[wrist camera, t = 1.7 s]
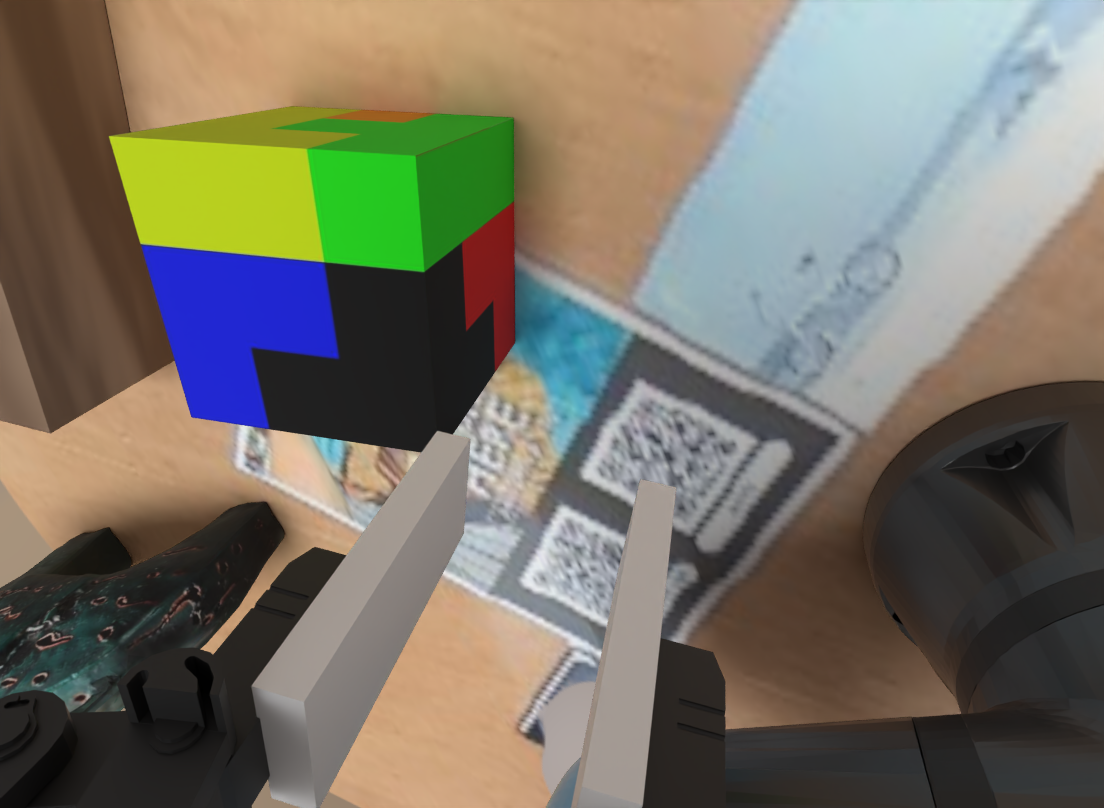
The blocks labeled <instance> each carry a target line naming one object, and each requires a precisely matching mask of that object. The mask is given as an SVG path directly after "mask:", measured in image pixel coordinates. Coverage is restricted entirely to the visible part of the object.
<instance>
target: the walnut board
mask: <svg viewBox="0 0 1104 808" xmlns="http://www.w3.org/2000/svg"><path fill="white" fill-rule="evenodd" d="M125 133H130V130H129V125H128V120H127V115H126V110H125V105H124V100H123V95H122V89H121V84H120V79H119V74H118V69H117V64H116V59H115V54H114V49H113V44H112V39H111V34H110V28H109V23H108V18H107V13H106V8H105V3H104V0H0V420H1V421H4V422H8V423H12V424H16V425H20V426H24V427H28V428H31V429H35V430H39V431H43V432H47V433H52V432H54V431H55V430H57V429H59V428H60V427H62V426H64V425H65V424H67V423H69V422H71V421H72V420H74V419H76V418H77V417H79V416H81V415H82V414H84V413H86V412H88V411H89V410H91V409H93V408H94V407H96V406H98V405H99V404H101V403H103V402H105V401H106V400H108V399H110V398H111V397H113V396H115V395H116V394H118V393H120V392H122V391H123V390H125V389H127V388H128V387H130V386H132V385H133V384H135V383H137V382H139V381H140V380H142V379H144V378H145V377H147V376H149V375H151V374H152V373H154V372H156V371H157V370H159V369H161V368H162V367H164V366H166V365H168V364H169V363H171V362H173V361H174V356H173V353H172V349H171V346H170V343H169V339H168V336H167V332H166V329H165V326H164V322H163V319H162V315H161V312H160V309H159V305H158V302H157V298H156V295H155V291H154V288H153V285H152V281H151V278H150V274H149V271H148V268H147V264H146V261H145V257H144V254H143V251H142V247H141V244H140V240H139V237H138V234H137V230H136V227H135V223H134V220H133V217H132V213H131V210H130V206H129V203H128V200H127V196H126V193H125V189H124V186H123V183H122V179H121V176H120V172H119V169H118V166H117V162H116V159H115V155H114V152H113V149H112V145H111V142H110V138H109V136H113V135H119V134H125Z"/></svg>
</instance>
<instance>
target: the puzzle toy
mask: <svg viewBox="0 0 1104 808" xmlns="http://www.w3.org/2000/svg"><path fill="white" fill-rule="evenodd" d="M109 138H110V142H111V145H112V149H113V152H114V155H115V159H116V162H117V166H118V169H119V172H120V176H121V179H122V183H123V186H124V189H125V193H126V196H127V200H128V203H129V206H130V210H131V213H132V217H133V220H134V223H135V227H136V230H137V234H138V237H139V240H140V244H141V247H142V251H143V254H144V257H145V261H146V264H147V268H148V271H149V274H150V278H151V281H152V285H153V288H154V291H155V295H156V298H157V302H158V305H159V309H160V312H161V315H162V319H163V322H164V326H165V329H166V332H167V336H168V339H169V343H170V346H171V349H172V353H173V356H174V360H175V363H176V366H177V370H178V373H179V377H180V380H181V383H182V387H183V390H184V394H185V397H186V400H187V404H188V407H189V411H190V414H191V417H193V418H200V419H206V420H213V421H219V422H226V423H232V424H239V425H245V426H252V427H258V428H265V429H271V430H278V431H285V432H291V433H298V434H304V435H311V436H317V437H324V438H330V439H337V440H343V441H350V442H356V443H363V444H369V445H376V446H383V447H389V448H396V449H402V450H409V451H415V452H422V451H423V450H424V448H425V447H426V446H427V444H428V443H429V442H430V440H431V439H432V437H433V436H434V435H435V433H436V432H437V431H440V432H444V433H448V434H452V435H453V433H454V432H455V430H456V429H457V427H458V426H459V424H460V423H461V421H462V420H463V419H464V417H465V416H466V414H467V413H468V411H469V410H470V408H471V407H472V405H473V404H474V402H475V401H476V399H477V398H478V396H479V395H480V394H481V392H482V391H483V389H484V388H485V386H486V385H487V383H488V382H489V380H490V379H491V377H492V376H493V374H494V373H495V371H496V370H497V369H498V367H499V366H500V364H501V363H502V361H503V360H504V358H505V357H506V355H507V354H508V352H509V351H510V349H511V348H512V347H513V345H514V344H515V260H514V118H510V117H490V116H471V115H451V114H432V113H412V112H393V111H373V110H354V109H334V108H315V107H295V106H291V107H285V108H279V109H273V110H266V111H260V112H254V113H248V114H242V115H236V116H230V117H223V118H217V119H211V120H205V121H199V122H193V123H187V124H180V125H174V126H168V127H162V128H156V129H150V130H144V131H137V132H131V133H125V134H119V135H113V136H109Z"/></svg>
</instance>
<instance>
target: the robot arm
mask: <svg viewBox="0 0 1104 808" xmlns="http://www.w3.org/2000/svg"><path fill="white" fill-rule="evenodd" d="M469 451H470V439H469V438H465V437H461V436H457V435H452V434H448V433H444V432H440V431H437V432H436V433H435V435H434V436H433V437H432V439H431V440H430V442H429V443H428V444H427V446H426V447H425V448H424V450H423V451H422V453H421V454H420V455H419V457H418V458H417V459H416V461H415V462H414V464H413V465H412V466H411V468H410V469H409V470H408V472H407V473H406V475H405V476H404V477H403V479H402V480H401V481H400V483H399V484H398V486H397V487H396V488H395V490H394V491H393V492H392V494H391V495H390V496H389V498H388V499H387V501H386V502H385V503H384V505H383V506H382V507H381V509H380V510H379V512H378V513H377V514H376V516H375V517H374V518H373V520H372V521H371V523H370V524H369V525H368V527H367V528H366V529H365V531H364V532H363V534H362V535H361V536H360V538H359V539H358V540H357V542H356V543H355V545H354V546H353V547H352V549H351V550H350V551H349V553H348V554H347V555H343V554H339V553H336V552H332V551H328V550H324V549H321V548H317V547H314V548H312V549H311V550H309V551H308V552H306V553H304V554H303V555H301V556H300V557H298V558H297V559H295V560H293V561H292V562H290V563H289V564H288V565H287V566H286V567H285V569H284V570H283V571H282V572H281V573H280V575H279V576H278V577H277V578H276V579H275V581H274V582H273V583H272V584H271V587H270V589H269V590H266V592H265V593H264V594H263V595H262V596H261V598H260V599H259V600H258V601H257V602H256V605H255V607H254V608H251V610H250V611H249V612H248V613H247V614H246V616H245V617H244V618H243V619H242V621H241V622H240V623H239V624H238V625H237V627H236V628H235V629H234V630H233V631H232V633H231V634H230V635H229V636H228V637H227V639H226V640H225V641H224V642H223V643H222V645H221V646H220V647H219V648H218V650H217V651H216V652H215V653H214V654H213V655H212V654H211V653H210V652H207V651H204V650H200V649H197V648H194V647H193V648H173V649H170V650H167V651H164V652H161V653H158V654H155V655H152V656H150V657H149V658H147V659H145V660H144V661H142V662H140V663H139V664H137V665H136V666H134V667H132V668H131V669H130V670H129V671H128V673H127V674H126V675H125V676H124V677H123V678H122V679H121V680H120V681H119V682H118V683H117V686H118V689H119V692H120V695H121V698H122V701H123V704H124V706H125V709H126V711H110V712H80V713H69V711H68V709H67V706H66V704H65V701H63V700H62V699H61V698H59V697H58V696H57V695H55V694H54V693H53V692H46V691H39V690H31V691H25V692H18V693H13V694H10V695H8V696H5V697H3V698H0V808H252V804H253V803H254V801H255V799H256V798H257V796H258V794H259V792H260V791H261V790H262V788H263V786H264V784H265V783H266V781H267V780H268V781H269V786H270V791H271V797H272V798H273V799H277V800H280V801H282V802H285V803H289V804H292V805H295V806H298V807H301V808H320V806H321V804H322V802H323V800H324V799H325V797H326V795H327V793H328V791H329V789H330V787H331V785H332V783H333V781H334V779H335V778H336V776H337V774H338V772H339V770H340V768H341V766H342V764H343V762H344V760H345V759H346V757H347V755H348V753H349V751H350V749H351V747H352V745H353V743H354V741H355V739H356V738H357V736H358V734H359V732H360V730H361V728H362V726H363V724H364V722H365V720H366V719H367V717H368V715H369V713H370V711H371V709H372V707H373V705H374V703H375V701H376V699H377V698H378V696H379V694H380V692H381V690H382V688H383V686H384V684H385V682H386V680H387V679H388V677H389V675H390V673H391V671H392V669H393V667H394V665H395V663H396V661H397V659H398V658H399V656H400V654H401V652H402V650H403V648H404V646H405V644H406V642H407V640H408V639H409V637H410V635H411V633H412V631H413V629H414V627H415V625H416V623H417V621H418V619H419V618H420V616H421V614H422V612H423V610H424V608H425V606H426V604H427V602H428V600H429V599H430V597H431V595H432V593H433V591H434V589H435V587H436V585H437V583H438V581H439V579H440V578H441V576H442V574H443V572H444V570H445V568H446V566H447V564H448V562H449V560H450V559H451V557H452V555H453V553H454V551H455V549H456V547H457V545H458V543H459V541H460V539H461V538H462V536H463V534H464V523H465V508H466V494H467V480H468V466H469ZM675 496H676V487H672V486H668V485H663V484H659V483H655V482H651V481H646V480H642V479H640V483H639V487H638V491H637V495H636V499H635V503H634V507H633V512H632V516H631V520H630V524H629V528H628V532H627V536H626V541H625V545H624V549H623V553H622V557H621V561H620V565H619V570H618V574H617V579H616V584H615V589H614V594H613V599H612V604H611V609H610V614H609V619H608V624H607V629H606V634H605V639H604V644H603V649H602V654H601V659H600V664H599V669H598V674H597V679H596V684H595V689H594V695H593V699H592V705H591V710H590V715H589V720H588V725H587V730H586V735H585V740H584V745H583V750H582V755H581V758H579V759H578V760H577V761H576V762H575V763H574V764H573V765H572V766H571V767H570V769H569V770H568V771H567V772H566V774H565V775H564V776H563V778H562V779H561V781H560V783H559V784H558V786H557V787H556V789H555V791H554V793H553V795H552V797H551V798H550V800H549V802H548V804H547V806H546V808H1104V383H1103V382H1074V383H1060V384H1052V385H1044V386H1038V387H1033V388H1027V389H1023V390H1019V391H1015V392H1011V393H1007V394H1004V395H1000V396H997V397H994V398H991V399H988V400H986V401H983V402H980V403H978V404H975V405H973V406H971V407H968V408H966V409H964V410H962V411H960V412H958V413H956V414H954V415H952V416H950V417H948V418H947V419H945V420H943V421H941V422H940V423H938V424H936V425H935V426H933V427H932V428H930V429H929V430H927V431H926V432H925V433H923V434H922V435H921V436H919V437H918V438H917V439H915V440H914V441H913V442H912V443H911V444H910V445H908V446H907V447H906V448H905V449H904V450H903V451H902V452H901V453H900V454H899V455H898V456H897V457H896V458H895V460H894V461H893V462H892V463H891V464H890V465H889V467H888V468H887V469H886V471H885V472H884V473H883V475H882V476H881V478H880V479H879V481H878V483H877V485H876V486H875V488H874V490H873V492H872V495H871V497H870V499H869V502H868V505H867V508H866V512H865V517H864V524H863V543H864V550H865V555H866V559H867V562H868V566H869V569H870V573H871V577H872V580H873V583H874V587H875V590H876V592H877V594H878V597H879V599H880V601H881V603H882V605H883V606H884V608H885V610H886V612H887V613H888V615H889V616H890V617H891V619H892V620H893V621H894V623H895V624H896V625H897V626H898V628H899V629H900V630H901V631H902V632H903V633H904V634H905V635H906V636H907V637H908V638H909V639H910V640H911V641H912V642H913V643H914V644H915V645H917V646H918V647H919V648H920V650H921V651H922V652H923V654H924V655H925V656H926V658H927V660H928V661H929V663H930V665H931V666H932V668H933V669H934V671H935V672H936V673H937V675H938V676H939V678H940V679H941V680H942V682H943V683H944V684H945V685H946V687H947V688H948V689H949V690H950V692H951V693H952V694H953V696H954V697H955V698H956V700H957V703H958V705H959V708H960V711H961V714H957V715H943V716H929V717H900V718H886V719H871V720H857V721H842V722H828V723H813V724H799V725H784V726H770V727H755V728H741V729H726V730H725V679H724V677H723V675H722V672H721V670H720V668H719V665H718V663H717V661H716V658H715V656H714V653H713V652H710V651H706V650H702V649H699V648H695V647H691V646H687V645H684V644H680V643H676V642H673V641H669V640H665V639H661V638H660V637H661V628H662V618H663V609H664V600H665V590H666V581H667V571H668V562H669V552H670V543H671V534H672V524H673V515H674V505H675Z"/></svg>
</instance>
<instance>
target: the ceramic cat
mask: <svg viewBox="0 0 1104 808" xmlns="http://www.w3.org/2000/svg"><path fill="white" fill-rule="evenodd" d="M283 538H284V531H283V529H282V527H281V526H280V524H279V523H278V521H277V520H276V519H275V518H274V516H273V515H272V513H271V511H270V509H269V507H268V506H267V504H266V503H265V502H259V503H246V504H242V505H238V506H236V507H234V508H230V509H228V510H227V511H225V512H224V513H223V514H222V515H220V516H219V517H218V518H217V519H216V520H215V521H213V522H212V523H211V524H209V525H208V526H206V527H205V528H204V529H202V530H200V531H199V532H197V533H195V534H193V535H192V536H190V537H189V538H187V539H185V540H184V541H182V542H181V543H179V544H177V545H176V546H174V547H172V548H171V549H169V550H167V551H165V552H162V553H160V554H158V555H156V556H154V557H152V558H150V559H148V560H146V561H144V562H142V563H140V564H137V565H135V566H133V567H131V558H130V556H129V554H128V552H127V551H126V549H125V548H124V546H123V545H122V544H121V543H120V542H119V540H118V539H117V538H116V537H115V536H114V534H113V533H112V532H111V531H110V528H105V529H101V530H99V531H97V532H94V533H83V534H80V535H78V536H76V537H75V538H72V539H70V540H69V541H68V542H67V543H65V544H64V545H63V546H61V547H59V548H58V549H56V550H54V551H53V552H52V553H51V554H49V555H48V556H47V557H46V558H44V559H43V560H42V561H41V562H39V563H38V564H37V565H35V566H34V567H33V568H31V569H30V570H29V571H28V572H26V573H25V574H23V575H22V576H20V577H18V578H17V579H15V580H13V581H11V582H10V583H8V584H6V585H5V586H3V587H1V588H0V698H3V697H5V696H8V695H10V694H13V693H18V692H25V691H31V690H39V691H46V692H53V693H54V694H55V695H57V696H58V697H59V698H61V699H62V700H63V701H65V704H66V706H67V709H68V711H69V713H80V712H110V711H121V710H122V709H123V708H125V706H124V704H123V701H122V698H121V695H120V692H119V689H118V686H117V683H118V682H119V681H120V680H121V679H122V678H123V677H124V676H125V675H126V674H127V673H128V671H129V670H130V669H131V668H132V667H134V666H136V665H137V664H139V663H140V662H142V661H144V660H145V659H147V658H149V657H150V656H152V655H155V654H158V653H161V652H164V651H167V650H170V649H173V648H193V647H194V648H197V649H201V648H202V647H203V646H204V645H205V644H206V643H207V642H208V641H209V640H210V639H211V638H212V637H213V635H214V634H215V633H216V632H217V631H218V630H219V629H220V628H221V627H222V626H223V624H224V623H225V622H226V621H227V620H228V619H229V618H230V616H231V615H232V614H233V613H234V612H235V611H236V610H237V608H238V607H239V606H240V604H241V603H242V601H243V599H244V598H245V596H246V595H247V593H248V591H249V590H250V588H251V586H252V585H253V583H254V582H255V580H256V578H257V577H258V575H259V573H260V572H261V570H262V568H263V566H264V565H265V563H266V562H267V560H268V559H269V558H270V556H271V555H272V554H273V552H274V551H275V549H276V548H277V547H278V545H279V544H280V542H281V541H282V539H283Z"/></svg>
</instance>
